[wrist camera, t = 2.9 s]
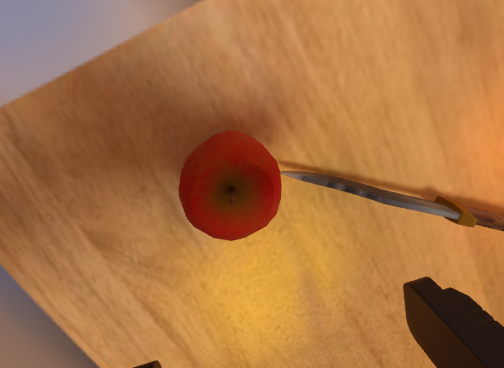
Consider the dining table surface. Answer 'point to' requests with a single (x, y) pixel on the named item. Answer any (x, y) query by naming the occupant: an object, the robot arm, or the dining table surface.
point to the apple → (230, 186)
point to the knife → (407, 201)
